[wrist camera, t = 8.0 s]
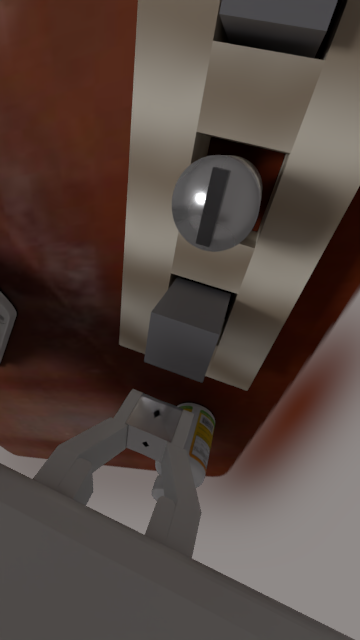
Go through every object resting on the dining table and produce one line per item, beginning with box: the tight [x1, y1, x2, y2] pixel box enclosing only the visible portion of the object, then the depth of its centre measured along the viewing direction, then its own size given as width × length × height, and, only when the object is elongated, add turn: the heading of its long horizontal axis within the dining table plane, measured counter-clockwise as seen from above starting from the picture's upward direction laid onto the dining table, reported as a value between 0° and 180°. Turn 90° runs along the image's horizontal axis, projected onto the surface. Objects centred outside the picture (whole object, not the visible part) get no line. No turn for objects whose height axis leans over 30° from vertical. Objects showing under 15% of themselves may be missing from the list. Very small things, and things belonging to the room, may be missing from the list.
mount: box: [119, 0, 360, 391], centre depth 15 cm, size 28×12×4 cm, turn 169°
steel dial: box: [172, 155, 263, 252], centre depth 12 cm, size 4×4×6 cm
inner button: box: [144, 277, 231, 383], centre depth 17 cm, size 4×4×5 cm
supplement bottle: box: [152, 403, 215, 501], centre depth 28 cm, size 5×5×10 cm
